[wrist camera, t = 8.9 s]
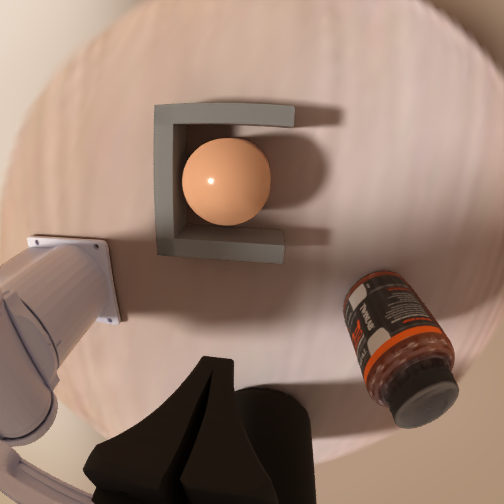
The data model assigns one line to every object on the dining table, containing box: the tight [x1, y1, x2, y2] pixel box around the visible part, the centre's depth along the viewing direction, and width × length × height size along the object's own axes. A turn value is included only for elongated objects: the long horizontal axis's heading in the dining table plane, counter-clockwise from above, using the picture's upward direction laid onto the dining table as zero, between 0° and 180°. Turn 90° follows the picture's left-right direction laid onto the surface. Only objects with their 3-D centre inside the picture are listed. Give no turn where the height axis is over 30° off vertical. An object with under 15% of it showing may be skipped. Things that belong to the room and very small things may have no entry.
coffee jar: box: [235, 388, 316, 504], centre depth 20 cm, size 11×11×18 cm
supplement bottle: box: [343, 271, 459, 429], centre depth 17 cm, size 6×6×11 cm
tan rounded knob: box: [182, 138, 271, 225], centre depth 18 cm, size 5×5×4 cm
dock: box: [154, 103, 295, 264], centre depth 18 cm, size 8×9×3 cm
